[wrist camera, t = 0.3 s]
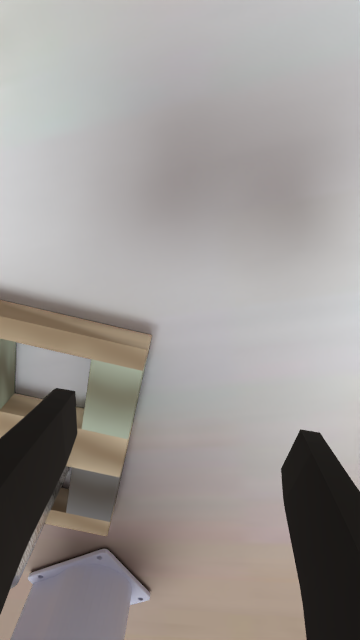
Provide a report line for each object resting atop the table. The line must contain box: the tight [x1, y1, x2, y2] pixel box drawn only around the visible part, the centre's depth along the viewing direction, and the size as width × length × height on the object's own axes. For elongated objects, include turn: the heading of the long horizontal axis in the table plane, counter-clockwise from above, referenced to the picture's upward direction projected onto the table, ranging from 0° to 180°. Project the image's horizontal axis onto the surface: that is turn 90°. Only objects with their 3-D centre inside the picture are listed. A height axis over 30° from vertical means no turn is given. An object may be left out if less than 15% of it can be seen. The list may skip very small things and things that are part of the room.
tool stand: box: [0, 300, 152, 536], centre depth 24 cm, size 18×12×2 cm
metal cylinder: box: [10, 466, 69, 589], centre depth 23 cm, size 4×4×8 cm
